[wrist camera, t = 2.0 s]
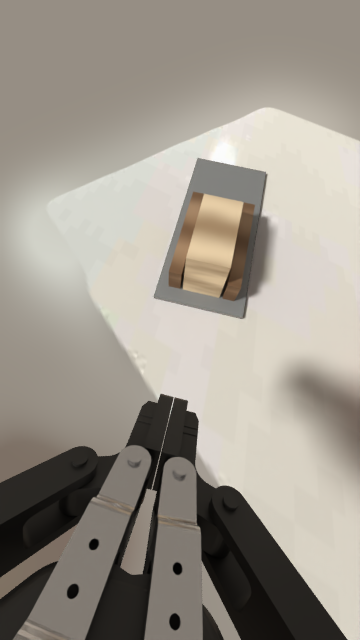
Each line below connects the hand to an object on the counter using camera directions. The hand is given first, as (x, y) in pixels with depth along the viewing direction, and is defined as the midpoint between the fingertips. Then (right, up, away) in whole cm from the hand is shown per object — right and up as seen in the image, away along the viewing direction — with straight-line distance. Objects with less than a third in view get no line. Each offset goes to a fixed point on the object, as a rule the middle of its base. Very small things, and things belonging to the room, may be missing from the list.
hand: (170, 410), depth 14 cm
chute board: (+6, +19, +26) cm, 33 cm away
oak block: (+5, +13, +23) cm, 27 cm away
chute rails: (+5, +14, +24) cm, 29 cm away
